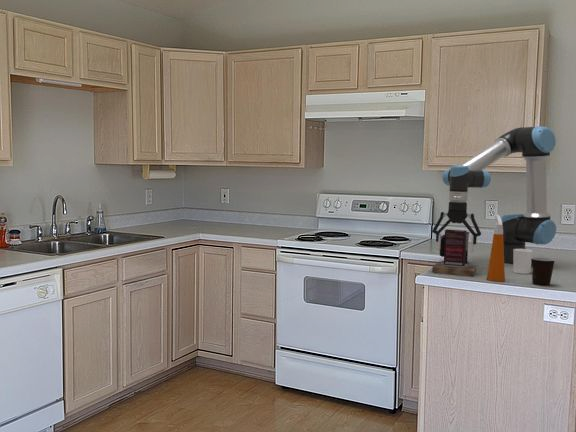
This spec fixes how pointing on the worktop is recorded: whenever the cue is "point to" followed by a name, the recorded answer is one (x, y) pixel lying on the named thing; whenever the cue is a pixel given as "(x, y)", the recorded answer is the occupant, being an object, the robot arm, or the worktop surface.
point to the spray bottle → (497, 254)
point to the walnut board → (454, 270)
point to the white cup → (522, 260)
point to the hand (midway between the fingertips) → (455, 250)
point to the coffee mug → (542, 270)
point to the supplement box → (455, 248)
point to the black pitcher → (443, 246)
